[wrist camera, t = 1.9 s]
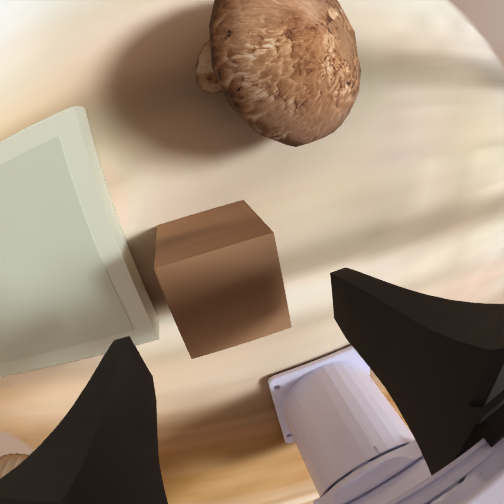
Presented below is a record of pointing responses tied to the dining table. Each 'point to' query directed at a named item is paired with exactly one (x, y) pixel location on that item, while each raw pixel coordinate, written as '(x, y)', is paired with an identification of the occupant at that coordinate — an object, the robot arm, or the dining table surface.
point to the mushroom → (283, 65)
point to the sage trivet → (63, 252)
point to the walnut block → (221, 278)
